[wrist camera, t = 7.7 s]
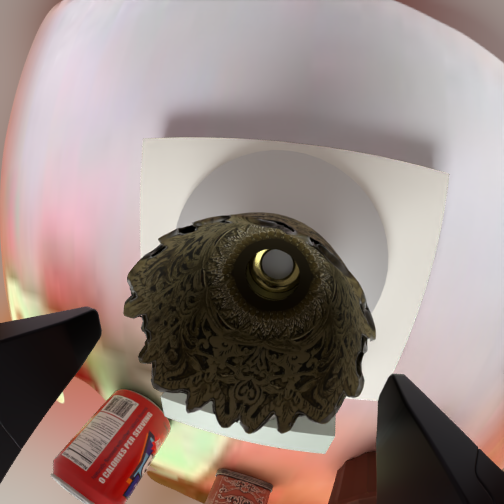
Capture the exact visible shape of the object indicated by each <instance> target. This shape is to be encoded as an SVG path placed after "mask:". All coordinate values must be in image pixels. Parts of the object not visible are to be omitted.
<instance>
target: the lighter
mask: <svg viewBox="0 0 504 504" xmlns="http://www.w3.org/2000/svg"><path fill="white" fill-rule="evenodd" d="M272 488H273V485H271V484H269V483H267V482H264V481H261V480H259V479H256V478H253V477H250V476H247V475H244V474H240V473H237V472H233V471H230V470H226V469H219V470H218V471H217V473H216V479H215V481H214V484H213V486H212V488H211V491H210V493H209V495H208V498H207V500H206V502H205V504H267V503H268V499H269V495H270V493H271V492H272Z"/></svg>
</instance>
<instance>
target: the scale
mask: <svg viewBox="0 0 504 504" xmlns="http://www.w3.org/2000/svg"><path fill="white" fill-rule="evenodd" d="M448 182H449V174H448V173H445V172H442V171H438V170H435V169H431V168H427V167H423V166H420V165H416V164H412V163H408V162H403V161H399V160H395V159H390V158H386V157H381V156H376V155H371V154H366V153H360V152H355V151H349V150H343V149H337V148H330V147H323V146H316V145H308V144H300V143H291V142H281V141H269V140H256V139H238V138H208V137H178V138H148V139H143V146H142V160H141V181H140V253H141V258H142V257H143V256H144V255H145V254H147V253H149V252H151V251H152V250H154V249H155V248H156V247H157V246H159V245H160V242H159V241H158V238H160V237H161V236H163V235H165V234H167V233H169V232H171V231H173V230H175V229H177V228H183V227H186V226H190V225H192V222H195V221H199V220H202V219H205V218H210V217H216V216H222V215H233V214H241V213H252V212H265V213H275V214H280V215H284V216H287V217H290V218H293V219H296V220H298V221H300V222H302V223H304V224H306V225H307V226H309V227H311V228H312V229H314V230H315V231H316V232H317V233H319V234H320V235H321V236H322V237H323V238H324V239H325V240H326V241H327V242H328V243H329V244H330V245H331V246H332V248H333V249H334V250H335V252H336V253H337V254H338V255H339V257H340V258H341V260H342V261H343V262H344V264H345V265H346V267H347V268H348V270H349V271H350V272H351V273H352V275H353V276H354V277H355V278H356V279H357V281H358V282H359V284H360V285H361V287H362V289H363V291H364V294H365V297H366V301H367V306H368V308H369V310H370V313H371V315H372V318H373V320H374V324H375V328H376V339H375V340H373V341H371V342H370V339H368V340H367V346H368V350H367V352H366V353H365V354H364V356H363V359H362V373H363V376H364V381H365V382H364V387H363V390H362V392H361V394H360V395H359V396H358V397H356V398H352V397H351V398H350V397H347V396H346V398H347V399H359V400H373V401H378V399H379V395H380V393H381V391H382V389H383V387H384V385H385V383H386V381H387V379H388V377H389V376H390V375H391V374H393V372H394V370H395V367H396V365H397V363H398V361H399V359H400V356H401V354H402V352H403V349H404V347H405V345H406V342H407V340H408V337H409V335H410V332H411V330H412V327H413V324H414V322H415V319H416V316H417V313H418V311H419V308H420V305H421V302H422V299H423V296H424V292H425V289H426V286H427V283H428V279H429V276H430V272H431V269H432V265H433V261H434V257H435V253H436V249H437V245H438V240H439V236H440V231H441V226H442V221H443V215H444V209H445V203H446V197H447V189H448ZM262 267H263V270H264V272H265V273H266V274H267V275H268V276H269V277H271V278H274V279H283V278H285V277H287V276H288V275H289V274H290V273H291V271H292V269H293V261H292V258H291V257H290V255H288V254H287V253H285V252H283V251H280V250H276V249H275V250H271V251H269V252H268V253H266V254H265V256H264V257H263V260H262ZM180 392H182V391H180ZM186 396H187V394H184V393H168V392H164V393H163V394H162V396H161V401H162V406H163V411H164V416H165V417H167V418H170V419H172V420H175V421H178V422H181V423H184V424H187V425H190V426H193V427H196V428H199V429H202V430H205V431H209V432H212V433H216V434H219V435H223V436H227V437H230V438H234V439H238V440H243V441H247V442H251V443H256V444H261V445H266V446H271V447H277V448H283V449H290V450H296V451H304V452H313V453H323V454H325V453H326V451H327V450H328V448H329V446H330V444H331V443H332V441H333V439H334V437H335V416H336V414H335V416H334V417H333V418H332V419H331V420H330V421H329V422H328V423H326V424H317V423H314V422H311V421H310V420H309V419H307V417H306V416H304V417H298V418H297V420H296V422H295V423H294V425H293V427H292V429H291V430H290V431H288V432H286V433H284V434H281V433H279V432H278V431H277V429H278V426H277V421H276V416H275V415H273V416H272V417H271V418H270V420H269V421H268V422H267V423H266V424H265V425H264V426H263V427H262V428H261V429H260V430H258V431H257V432H255V433H252V434H247V433H245V431H244V429H243V428H242V426H241V425H240V423H239V422H240V420H239V421H238V423H236V422H235V423H234V424H233V425H232V426H231V427H229V428H222V427H221V426H220V425H219V424H218V422H217V419H216V416H215V414H214V413H213V410H212V404H213V403H212V401H211V402H209V403H208V404H206V405H205V406H203V407H202V409H201V410H199V411H196V412H193V413H187V412H186V404H185V401H186V398H187V397H186ZM273 419H274V420H273Z"/></svg>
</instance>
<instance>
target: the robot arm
mask: <svg viewBox="0 0 504 504" xmlns="http://www.w3.org/2000/svg"><path fill="white" fill-rule="evenodd" d="M101 333H102V330H101V325H100V320H99V315H98V312H97V311H96V310H95V309H93V308H90V307H81V308H76V309H71V310H66V311H61V312H56V313H51V314H46V315H41V316H36V317H30V318H25V319H20V320H14V321H9V322H4V323H0V483H1V482H2V480H3V478H4V477H5V475H6V473H7V472H8V470H9V468H10V467H11V465H12V464H13V462H14V461H15V459H16V457H17V456H18V454H19V453H20V451H21V449H22V448H23V446H24V445H25V443H26V442H27V440H28V439H29V437H30V436H31V434H32V433H33V432H34V430H35V429H36V427H37V426H38V424H39V423H40V422H41V420H42V419H43V417H44V416H45V415H46V413H47V412H48V410H49V409H50V408H51V406H52V405H53V403H54V402H55V401H56V400H57V398H58V397H59V396H60V394H61V393H62V392H63V390H64V389H65V388H66V386H67V385H68V384H69V382H70V381H71V380H72V378H73V377H74V376H75V375H76V373H77V372H78V371H79V369H80V368H81V366H82V365H83V363H84V362H85V360H86V359H87V357H88V355H89V354H90V352H91V351H92V349H93V348H94V346H95V345H96V343H97V342H98V340H99V339H100V337H101ZM376 466H377V504H504V472H503V471H502V470H501V469H500V468H499V467H498V466H497V465H496V464H495V463H494V462H493V461H492V460H490V459H489V458H488V457H487V456H486V455H485V454H484V453H483V451H482V450H481V449H478V447H477V446H476V445H475V444H474V442H473V441H472V440H471V439H470V438H469V437H468V436H467V435H466V434H465V433H464V432H463V431H462V430H461V429H460V428H459V427H458V426H457V425H456V424H455V423H454V422H452V421H451V420H450V419H449V418H448V417H447V416H446V415H445V414H444V413H443V412H442V411H441V410H440V409H439V408H438V407H437V406H436V405H435V404H434V403H433V402H432V401H431V400H430V399H429V398H428V397H427V396H426V395H425V394H424V393H423V392H422V391H421V390H420V389H419V388H418V387H417V386H416V385H415V384H414V383H413V382H412V381H411V380H410V379H409V378H407V377H406V376H405V375H403V374H391V375H390V376H389V377H388V379H387V381H386V383H385V385H384V387H383V389H382V391H381V393H380V395H379V399H378V417H377V437H376Z"/></svg>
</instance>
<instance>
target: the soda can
mask: <svg viewBox="0 0 504 504" xmlns="http://www.w3.org/2000/svg"><path fill="white" fill-rule="evenodd" d="M170 429H171V426H170V422H169V420H168V418H167V417H165V416H164V412H163V411H162V410H161V409H160V408H159V407H158V406H157V405H156V404H155V403H154V402H153V401H151V400H150V399H149V398H147V397H145V396H143V395H141V394H139V393H137V392H134V391H131V390H127V389H120V390H117V391H115V392H114V393H113V394H112V395H111V396H110V397H109V399H108V400H107V401H106V402H105V403H104V404H103V405H102V406H101V408H100V409H99V410H98V411H97V412H96V413H95V414H94V415H93V416H92V417H91V419H90V420H89V421H88V422H87V423H86V424H85V425H84V426H83V427H82V429H81V430H80V431H79V432H78V433H77V434H76V435H75V436H74V438H73V439H72V440H71V441H70V442H69V443H68V444H67V445H66V447H65V448H64V449H63V450H62V451H61V452H60V453H59V454H58V456H57V457H56V458H55V459H54V461H53V466H54V467H53V474H51V477H52V478H53V479H54V480H55V481H56V482H57V483H58V484H59V485H61V486H62V487H63V488H64V489H65V490H66V491H68V492H69V493H70V494H71V495H73V496H74V497H75V498H77V499H78V500H80V501H81V502H82V503H84V504H125V503H126V502H127V500H128V498H129V497H130V495H131V494H132V492H133V491H134V489H135V487H136V486H137V484H138V482H139V481H140V480H141V478H142V476H143V475H144V473H145V472H146V470H147V468H148V467H149V465H150V464H151V462H152V460H153V459H154V457H155V456H156V454H157V452H158V451H159V449H160V447H161V446H162V444H163V443H164V441H165V439H166V438H167V436H168V434H169V432H170Z"/></svg>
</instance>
